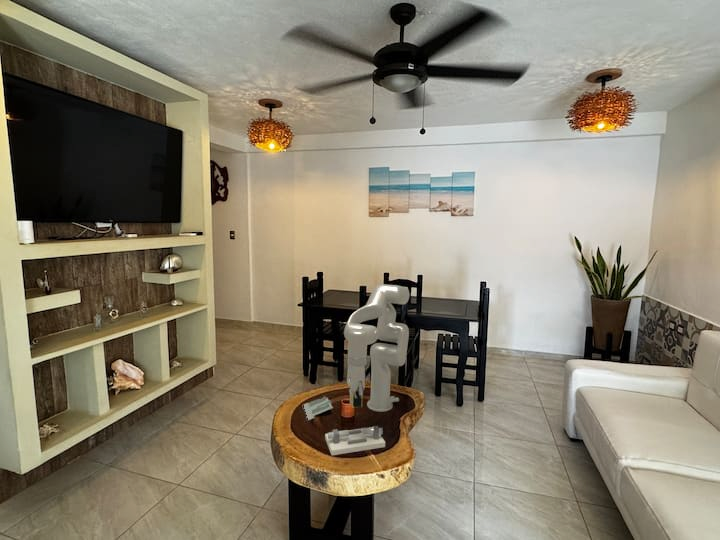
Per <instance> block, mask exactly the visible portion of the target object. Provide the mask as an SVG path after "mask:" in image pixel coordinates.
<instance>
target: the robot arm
mask: <svg viewBox="0 0 720 540" xmlns="http://www.w3.org/2000/svg"><path fill="white" fill-rule="evenodd" d="M409 299H410V291H409V288H408V287H406V286H401V285H397V284H385V283H383V284H382V283H380V284H376V285H375V286H374V287H373V288H372V291H371V293H370V295H369V298H368V300H367V302H366V303H365V305H363V306H362V307H360V308H358V309H357V310H356V311H354V312H353V313H352V314H351V315H350V316H349V318H348V320H347V323H346V324H345V327H344V329H343V335H344V338H345V339H346V340H347V342H348V343H347V365H348V366H347V373H346V374H347V375H346V383H347V385H348V387H349V390H350V389H351V390H352V391H353V392H354V393H355V397H354V405H353V406H354V409H355V407H356V408H362V407H363V395H364V390H365V388H366V368H365V366H367V356H368V354H367V353H368V350H367V349H368V345H371V346H370V349H369V350H370V351H369V355H370V364H371V366H370V368H371V374H370V375H371V376H370V377H371V378H370V399H368V401H366V406H367V408H368V409H369V410H371V411H374V412H378V413H379V412H380V413H382V412H383V413H384V412H388V411H390V410H392V409H393V403H397V402H400V398H399V397H396V396H395V395H391V376H392V372H391V368H390V366H396V367H402V366H403V365H405V363H406V360H407V359H406V358H407V351H408V344H409V338H410V337H409V335H410V331H409V327H408V325H407V324H406V323H403V322H402V323H401V322H396V318H397V310H396V309H395V307H394V306H393V304H397V305H406V304H407V303H408V301H409ZM375 319H377V325H376V326H374V325H371V324H370V325H369V324H363V322H366V321H370V320H375ZM361 323H362V324H361ZM377 340H380V341H383V342H377ZM384 342H391V343H396V344H397V345H396V344H388V343H384ZM389 365H390V366H389ZM357 389H358V390H357ZM357 392H359V393H357ZM361 406H362V407H361Z"/></svg>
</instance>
